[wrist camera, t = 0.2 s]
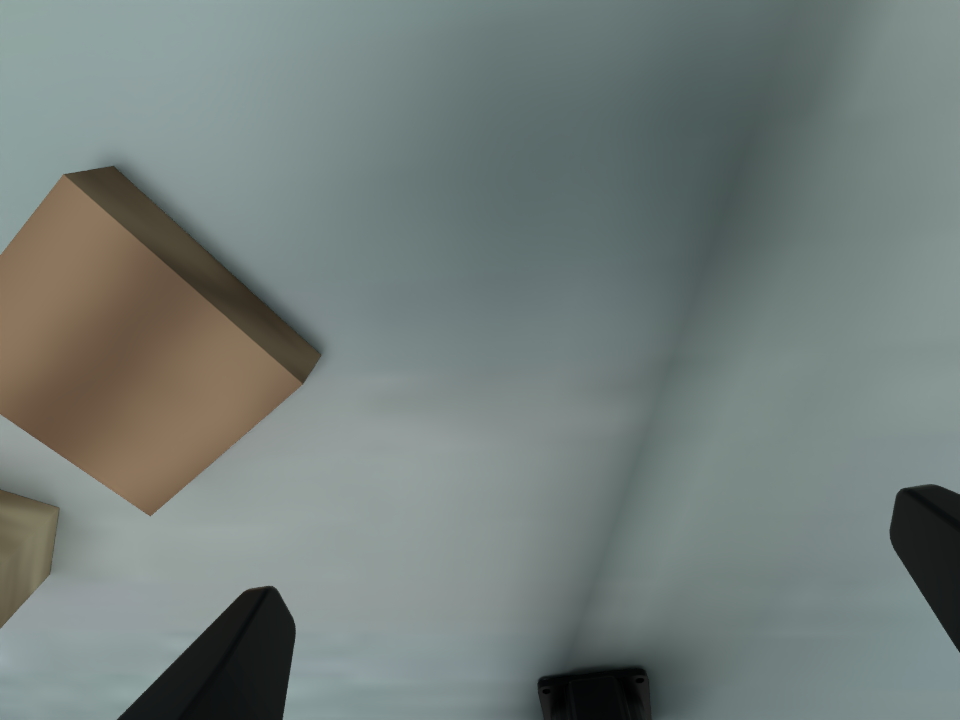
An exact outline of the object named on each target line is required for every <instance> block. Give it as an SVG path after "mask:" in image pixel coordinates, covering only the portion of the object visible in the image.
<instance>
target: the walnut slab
mask: <svg viewBox="0 0 960 720" xmlns="http://www.w3.org/2000/svg"><path fill="white" fill-rule="evenodd" d="M320 357H321V355H320V354H319V353H318V352H317V351H316V350H315V349H314V348H313V347H312V346H310V345H309V344H308V343H307V342H306V341H305V340H304V339H303V338H302V337H301V336H299V335H298V334H297V333H296V332H295V331H294V330H293V329H292V328H291V327H290V326H288V325H287V324H286V323H285V322H284V321H283V320H282V319H281V318H280V317H279V316H277V315H276V314H275V313H274V312H273V311H272V310H271V309H270V308H269V307H268V306H266V305H265V304H264V303H263V302H262V301H261V300H260V299H259V298H258V297H257V296H256V295H254V294H253V293H252V292H251V291H250V290H249V289H248V288H247V287H246V286H245V285H243V284H242V283H241V282H240V281H239V280H238V279H237V278H236V277H235V276H234V275H232V274H231V273H230V272H229V271H228V270H227V269H226V268H225V267H224V266H223V265H221V264H220V263H219V262H218V261H217V260H216V259H215V258H214V257H213V256H212V255H210V254H209V253H208V252H207V251H206V250H205V249H204V248H203V247H202V246H201V245H199V244H198V243H197V242H196V241H195V240H194V239H193V238H192V237H191V236H190V235H189V234H187V233H186V232H185V231H184V230H183V229H182V228H181V227H180V226H179V225H178V224H176V223H175V222H174V221H173V220H172V219H171V218H170V217H169V216H168V215H167V214H165V213H164V212H163V211H162V210H161V209H160V208H159V207H158V206H157V205H156V204H154V203H153V202H152V201H151V200H150V199H149V198H148V197H147V196H146V195H145V194H143V193H142V192H141V191H140V190H139V189H138V188H137V187H136V186H135V185H134V184H133V183H131V182H130V181H129V180H128V179H127V178H126V177H125V176H124V175H123V174H122V173H120V172H119V171H118V170H117V169H116V168H115V167H114V166H111V167H105V168H99V169H93V170H87V171H81V172H75V173H69V174H63V176H62V177H61V178H60V180H59V181H58V182H57V183H56V185H55V186H54V187H53V189H52V190H51V191H50V192H49V194H48V195H47V196H46V198H45V199H44V200H43V201H42V203H41V204H40V205H39V207H38V208H37V209H36V210H35V212H34V213H33V214H32V215H31V217H30V218H29V219H28V221H27V222H26V223H25V224H24V226H23V227H22V228H21V230H20V231H19V232H18V233H17V235H16V236H15V237H14V239H13V240H12V241H11V242H10V244H9V245H8V246H7V248H6V249H5V250H4V251H3V253H2V254H1V255H0V414H1V415H2V416H4V417H5V418H7V419H8V420H10V421H11V422H13V423H14V424H16V425H17V426H19V427H20V428H21V429H23V430H24V431H26V432H27V433H29V434H30V435H32V436H33V437H35V438H36V439H38V440H39V441H40V442H42V443H43V444H45V445H46V446H48V447H49V448H51V449H52V450H54V451H55V452H57V453H58V454H60V455H61V456H62V457H64V458H65V459H67V460H68V461H70V462H71V463H73V464H74V465H76V466H77V467H79V468H80V469H82V470H83V471H84V472H86V473H87V474H89V475H90V476H92V477H93V478H95V479H96V480H98V481H99V482H101V483H102V484H104V485H105V486H106V487H108V488H109V489H111V490H112V491H114V492H115V493H117V494H118V495H120V496H121V497H123V498H124V499H126V500H127V501H128V502H130V503H131V504H133V505H134V506H136V507H137V508H139V509H140V510H142V511H143V512H145V513H146V514H148V515H149V516H151V515H153V514H154V513H155V512H156V511H157V510H158V509H159V508H161V507H162V506H163V505H164V504H165V503H166V502H168V501H169V500H170V499H171V498H172V497H173V496H174V495H176V494H177V493H178V492H179V491H180V490H181V489H183V488H184V487H185V486H186V485H187V484H188V483H189V482H191V481H192V480H193V479H194V478H195V477H196V476H198V475H199V474H200V473H201V472H202V471H203V470H204V469H206V468H207V467H208V466H209V465H210V464H211V463H213V462H214V461H215V460H216V459H217V458H218V457H219V456H221V455H222V454H223V453H224V452H225V451H226V450H228V449H229V448H230V447H231V446H232V445H233V444H234V443H236V442H237V441H238V440H239V439H240V438H241V437H243V436H244V435H245V434H246V433H247V432H248V431H249V430H251V429H252V428H253V427H254V426H255V425H256V424H258V423H259V422H260V421H261V420H262V419H263V418H265V417H266V416H267V415H268V414H269V413H270V412H271V411H273V410H274V409H275V408H276V407H277V406H278V405H280V404H281V403H282V402H283V401H284V400H285V399H286V398H288V397H289V396H290V395H291V394H292V393H293V392H295V391H296V390H297V389H298V388H299V387H300V386H301V385H303V383H304V382H305V380H306V379H307V377H308V375H309V374H310V372H311V371H312V369H313V368H314V366H315V364H316V363H317V361H318V360H319V358H320Z"/></svg>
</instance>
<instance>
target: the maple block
mask: <svg viewBox="0 0 960 720" xmlns="http://www.w3.org/2000/svg"><path fill="white" fill-rule="evenodd" d="M58 514H59V508H58V507H55V506H51V505H48V504H45V503H42V502H38V501H35V500H32V499H29V498H25V497H22V496H19V495H16V494H12V493H9V492H6V491H3V490H0V628H1V627H2V626H3V625H4V624H5V623H6V622H7V621H8V620H9V619H10V617H11V616H12V615H13V614H14V613H15V612H16V611H17V610H18V609H19V608H20V606H21V605H22V604H23V603H24V602H25V601H26V600H27V599H28V598H29V597H30V595H31V594H32V593H33V592H34V591H35V590H36V589H37V588H38V587H39V586H40V585H41V583H42V582H43V581H44V580H45V579H46V578H47V577H48V576H49V575H50V570H51V563H52V556H53V549H54V542H55V535H56V528H57V521H58Z"/></svg>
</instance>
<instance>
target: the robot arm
mask: <svg viewBox="0 0 960 720" xmlns="http://www.w3.org/2000/svg"><path fill="white" fill-rule="evenodd" d="M890 539H891V543H892V545H893V548H894V550H895V551H896V553H897V555H898V556H899V558H900V559H901V561H902V563H903V564H904V566H905V567H906V569H907V571H908V572H909V574H910V575H911V577H912V578H913V580H914V582H915V583H916V585H917V586H918V588H919V590H920V591H921V593H922V594H923V596H924V597H925V599H926V601H927V602H928V604H929V605H930V607H931V609H932V610H933V612H934V613H935V615H936V616H937V618H938V620H939V621H940V623H941V624H942V626H943V628H944V629H945V631H946V632H947V634H948V635H949V637H950V639H951V640H952V642H953V643H954V645H955V646H956V648H957V649H958V651H959V652H960V494H958V493H955V492H953V491H951V490H948V489H946V488H944V487H941V486H938V485H933V484H927V485H920V486H914V487H907V488H903V489H901V490H900V491H899V492H898V493H897V495H896V499H895V504H894V510H893V515H892V520H891V526H890ZM295 635H296V628H295V623H294V619H293V617H292V615H291V614H290V612H289V610H288V608H287V606H286V604H285V603H284V601H283V599H282V597H281V595H280V593H279V592H278V590H277V589H276V588H275V587H273V586H264V587H258V588H251V589H248V590H246V591H244V592H243V593H242V594H241V595H240V596H239V597H238V598H237V599H236V600H235V601H234V602H233V603H232V604H231V605H230V606H229V607H228V608H227V609H226V610H225V611H224V612H223V613H222V614H221V615H220V616H219V617H218V618H217V619H216V620H215V621H214V622H213V623H212V624H211V625H210V626H209V627H208V628H207V629H206V630H205V631H204V632H203V633H202V634H201V635H200V636H199V637H198V638H197V639H196V640H195V641H194V642H193V643H192V644H191V645H190V646H189V647H188V648H187V649H186V650H185V651H184V652H183V653H182V654H181V655H180V656H179V657H178V658H177V659H176V660H175V661H174V662H173V663H172V664H171V665H170V666H169V667H168V669H167V670H166V671H165V672H164V673H163V674H162V675H161V676H160V677H159V678H158V679H157V680H156V681H155V682H154V683H153V684H152V685H151V686H150V687H149V688H148V689H147V690H146V691H145V692H144V693H143V694H142V695H141V696H140V697H139V698H138V699H137V700H136V701H135V702H134V703H133V704H132V705H131V706H130V707H129V708H128V709H127V710H126V711H125V712H124V713H123V714H122V715H121V716H120V717H119V718H118V719H117V720H283V713H284V707H285V700H286V694H287V688H288V681H289V675H290V668H291V662H292V656H293V649H294V643H295ZM538 694H539V698H540V703H541V707H542V712H543V716H544V720H652V718H651V706H650V693H649V681H648V676H647V673H646V671H645V670H644V669H630V670H622V671H613V672H605V673H596V674H588V675H579V676H571V677H562V678H554V679H546V680H541V681H540V682H539V683H538Z"/></svg>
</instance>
